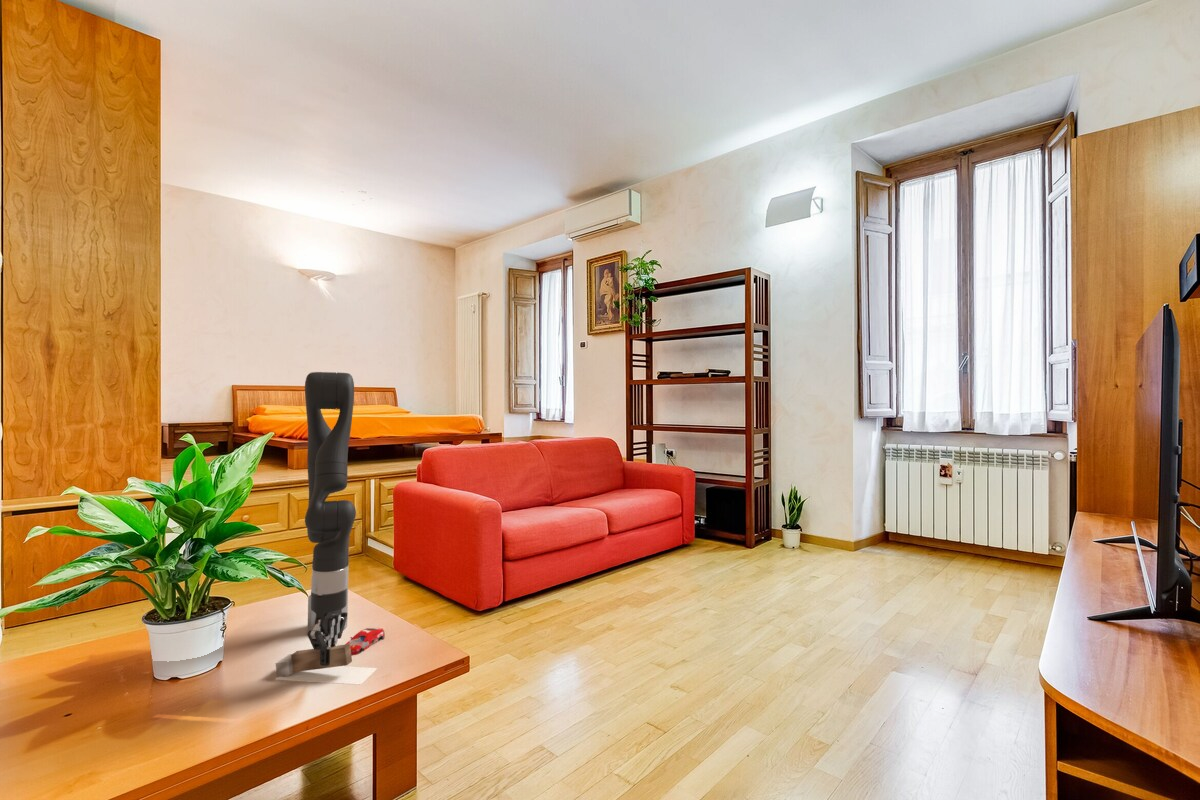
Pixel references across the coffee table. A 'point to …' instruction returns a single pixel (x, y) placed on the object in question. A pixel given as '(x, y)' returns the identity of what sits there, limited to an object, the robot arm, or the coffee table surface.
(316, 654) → the brown and gray block
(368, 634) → the race car
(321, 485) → the robot arm
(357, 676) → the pad
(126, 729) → the coffee table surface
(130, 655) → the coffee table surface
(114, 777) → the coffee table surface
